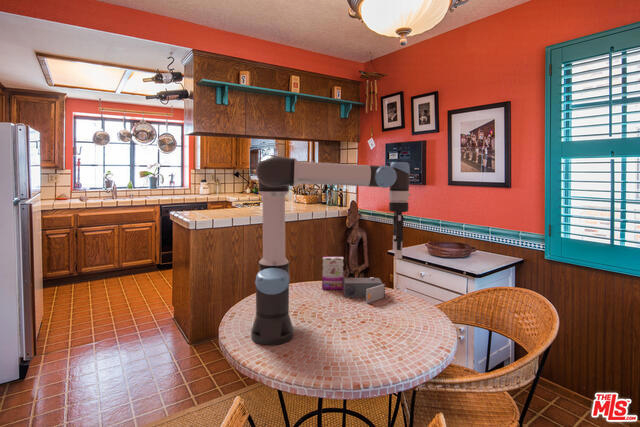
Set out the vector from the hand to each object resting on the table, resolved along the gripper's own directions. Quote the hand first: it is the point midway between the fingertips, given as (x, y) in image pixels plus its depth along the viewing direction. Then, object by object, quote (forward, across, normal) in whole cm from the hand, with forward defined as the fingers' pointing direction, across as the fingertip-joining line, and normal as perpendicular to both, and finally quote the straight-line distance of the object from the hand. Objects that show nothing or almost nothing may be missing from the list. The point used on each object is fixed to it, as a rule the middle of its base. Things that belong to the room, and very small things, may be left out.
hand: (397, 254), depth 144 cm
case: (+27, +29, +14) cm, 42 cm away
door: (+26, +20, +7) cm, 34 cm away
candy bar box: (+27, +35, +30) cm, 53 cm away
